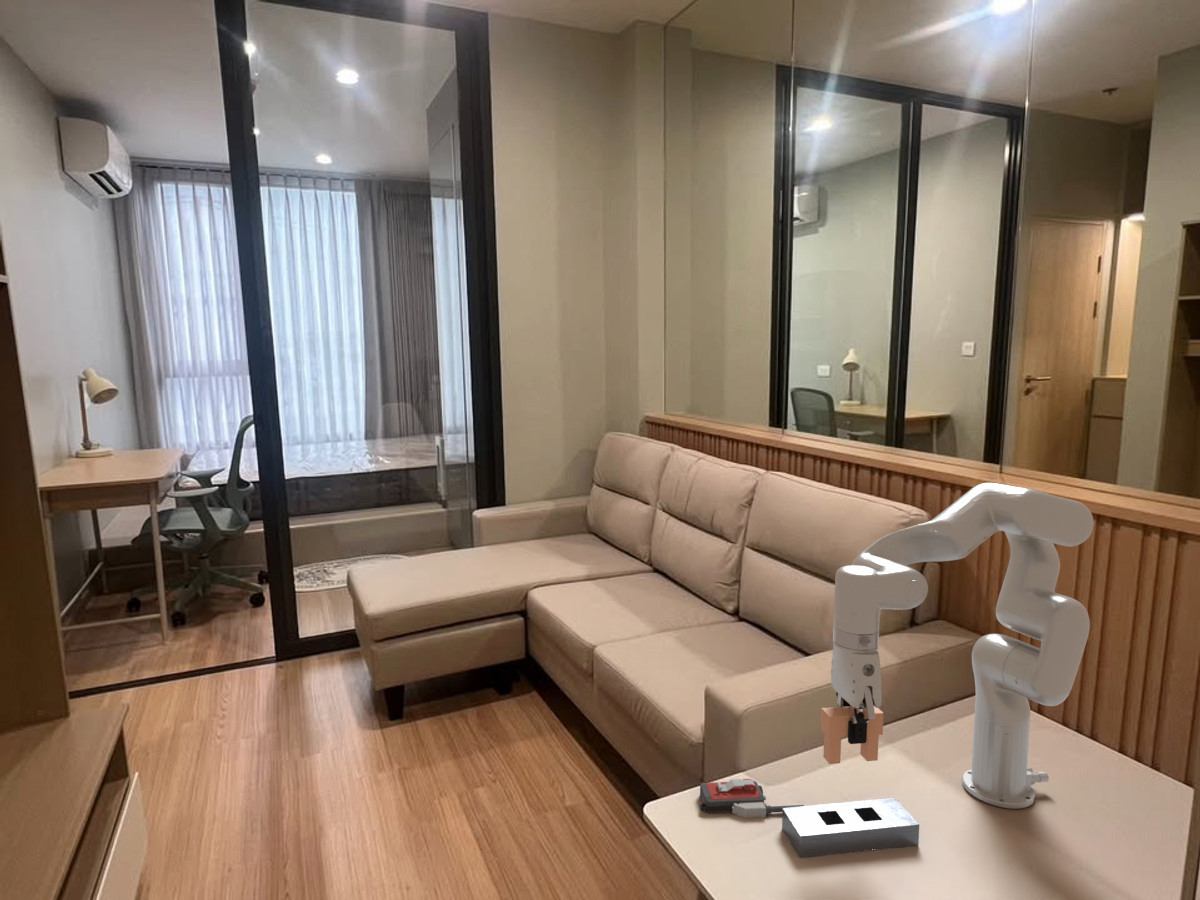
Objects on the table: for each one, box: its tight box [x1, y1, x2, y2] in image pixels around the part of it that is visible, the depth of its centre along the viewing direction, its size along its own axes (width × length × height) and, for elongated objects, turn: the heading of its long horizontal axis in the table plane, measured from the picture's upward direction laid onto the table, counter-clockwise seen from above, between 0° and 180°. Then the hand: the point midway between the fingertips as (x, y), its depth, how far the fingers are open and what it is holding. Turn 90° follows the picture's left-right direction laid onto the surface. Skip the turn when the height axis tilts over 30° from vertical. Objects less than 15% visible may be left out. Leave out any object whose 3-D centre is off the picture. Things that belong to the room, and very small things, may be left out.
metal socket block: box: [781, 797, 920, 859], centre depth 129 cm, size 22×8×4 cm, turn 98°
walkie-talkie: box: [699, 778, 805, 819], centre depth 139 cm, size 9×4×20 cm
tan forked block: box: [820, 706, 885, 765], centre depth 127 cm, size 10×3×9 cm, turn 98°
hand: (851, 736), depth 127 cm, fingers closed on tan forked block, 3 cm apart
